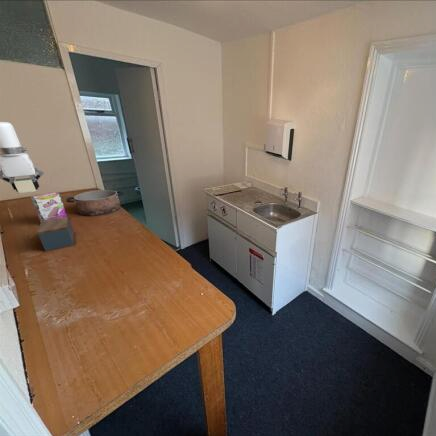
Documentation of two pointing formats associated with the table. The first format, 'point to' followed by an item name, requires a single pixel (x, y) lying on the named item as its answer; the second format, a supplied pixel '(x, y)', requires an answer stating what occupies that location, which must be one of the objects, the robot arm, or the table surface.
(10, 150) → the robot arm
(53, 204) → the candy bar box
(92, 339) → the table surface
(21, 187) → the cube
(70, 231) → the grey box shape
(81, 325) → the table surface
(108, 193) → the cooking pot
